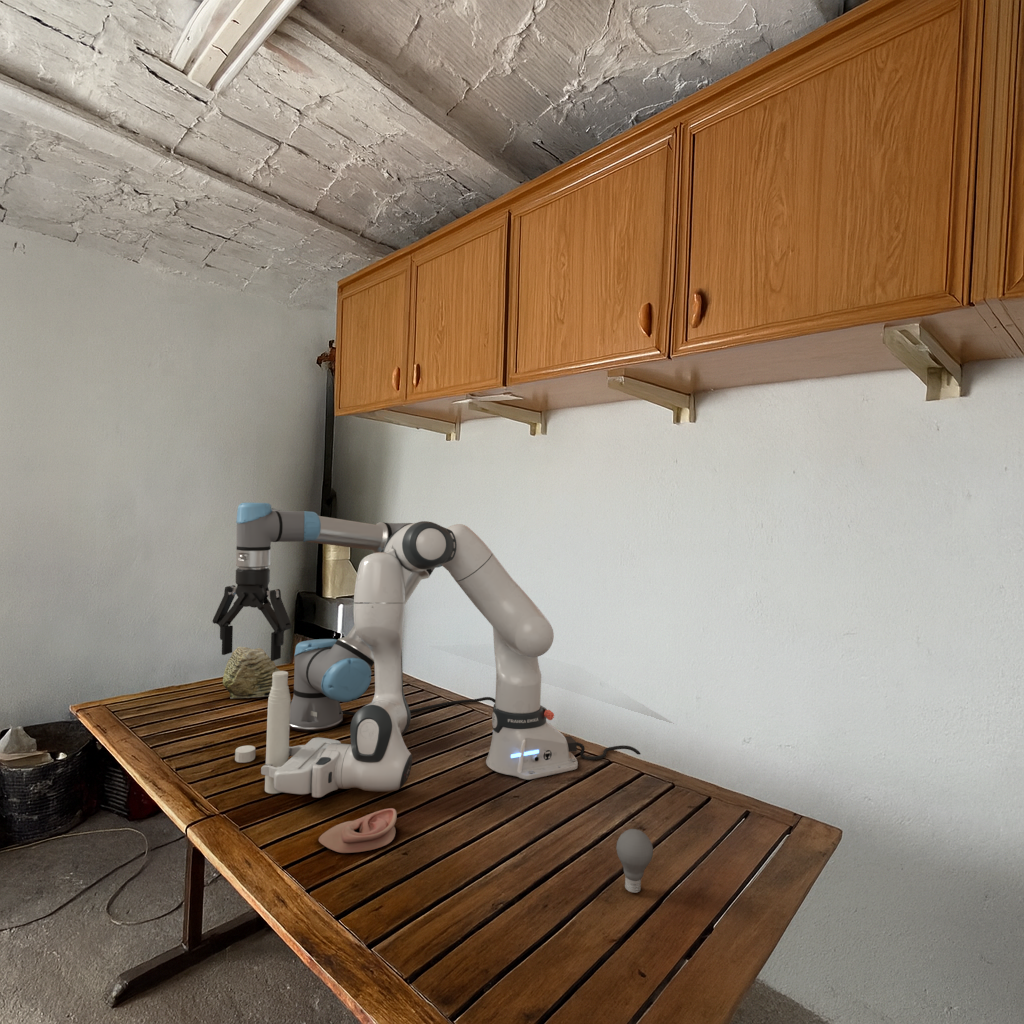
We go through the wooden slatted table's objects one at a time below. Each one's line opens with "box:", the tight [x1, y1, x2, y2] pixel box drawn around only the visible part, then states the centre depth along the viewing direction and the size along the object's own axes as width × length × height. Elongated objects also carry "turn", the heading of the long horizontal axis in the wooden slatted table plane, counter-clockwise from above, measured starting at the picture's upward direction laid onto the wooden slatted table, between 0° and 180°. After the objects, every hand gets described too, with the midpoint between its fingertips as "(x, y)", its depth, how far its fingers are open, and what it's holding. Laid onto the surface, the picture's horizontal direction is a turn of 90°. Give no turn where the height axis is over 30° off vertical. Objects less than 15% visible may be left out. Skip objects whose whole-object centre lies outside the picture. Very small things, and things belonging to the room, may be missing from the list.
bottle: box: [264, 670, 292, 795], centre depth 136 cm, size 5×5×25 cm
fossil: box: [222, 646, 281, 699], centre depth 198 cm, size 9×18×15 cm, turn 132°
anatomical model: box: [318, 807, 398, 854], centre depth 118 cm, size 13×4×12 cm
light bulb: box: [615, 828, 654, 894], centre depth 106 cm, size 6×6×10 cm
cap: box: [234, 745, 256, 764], centre depth 151 cm, size 4×4×2 cm
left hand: (251, 656), depth 151 cm, fingers open, 13 cm apart
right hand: (273, 759), depth 136 cm, fingers open, 8 cm apart
